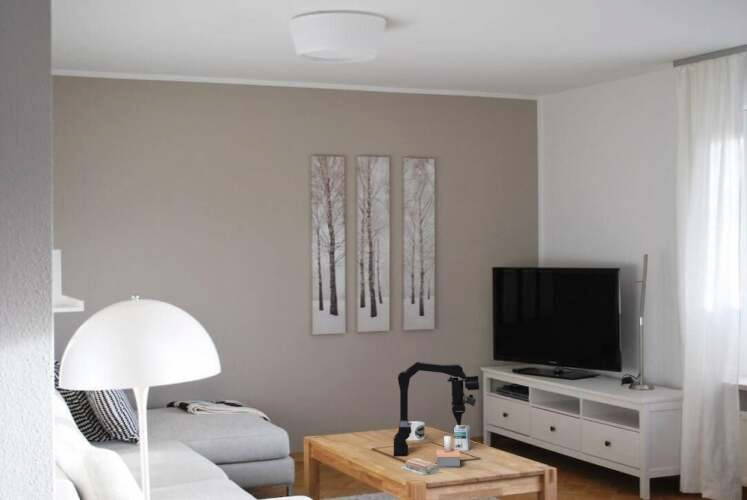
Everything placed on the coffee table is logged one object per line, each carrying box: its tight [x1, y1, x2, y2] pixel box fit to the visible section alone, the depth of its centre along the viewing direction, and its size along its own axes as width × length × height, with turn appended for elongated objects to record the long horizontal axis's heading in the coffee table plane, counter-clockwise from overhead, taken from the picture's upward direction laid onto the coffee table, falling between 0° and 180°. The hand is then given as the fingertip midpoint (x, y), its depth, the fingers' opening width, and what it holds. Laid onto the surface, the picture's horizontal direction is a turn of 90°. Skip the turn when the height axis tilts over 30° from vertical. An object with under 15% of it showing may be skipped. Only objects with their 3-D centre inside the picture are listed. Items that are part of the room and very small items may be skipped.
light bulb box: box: [453, 424, 471, 452], centre depth 480 cm, size 11×7×11 cm, turn 168°
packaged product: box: [400, 457, 442, 477], centre depth 435 cm, size 18×5×10 cm
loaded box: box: [436, 456, 461, 469], centre depth 444 cm, size 10×10×5 cm
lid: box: [435, 435, 461, 458], centre depth 444 cm, size 10×10×9 cm
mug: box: [406, 420, 426, 442], centre depth 506 cm, size 13×10×8 cm
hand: (459, 423), depth 467 cm, fingers open, 9 cm apart
